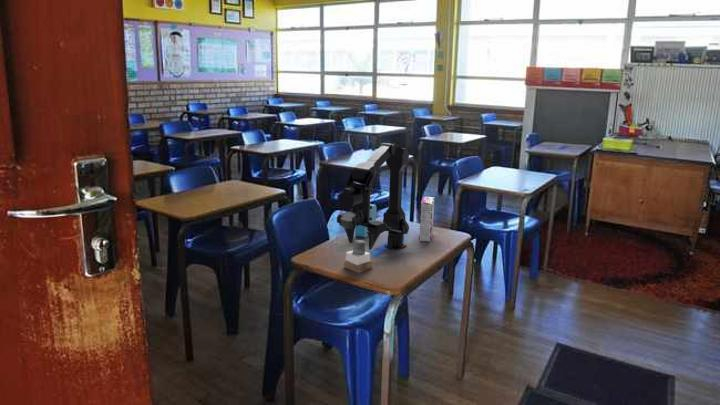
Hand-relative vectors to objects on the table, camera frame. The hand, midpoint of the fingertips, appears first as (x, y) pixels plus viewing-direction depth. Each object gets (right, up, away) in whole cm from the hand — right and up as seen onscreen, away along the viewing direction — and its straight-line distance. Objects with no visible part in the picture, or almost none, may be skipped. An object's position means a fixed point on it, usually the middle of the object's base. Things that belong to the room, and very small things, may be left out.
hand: (360, 246), depth 186 cm
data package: (+2, +2, +39) cm, 39 cm away
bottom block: (-1, -8, +2) cm, 9 cm away
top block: (-1, -5, +1) cm, 6 cm away
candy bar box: (+27, 0, +37) cm, 46 cm away
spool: (-1, -2, +1) cm, 3 cm away
